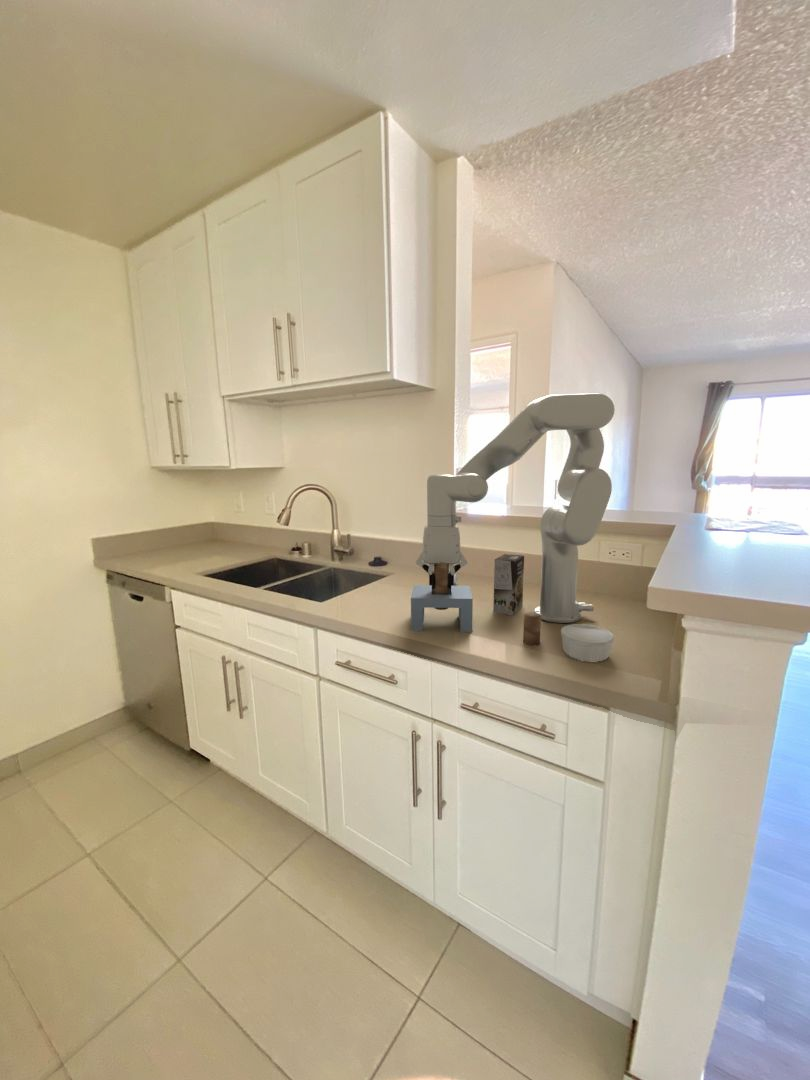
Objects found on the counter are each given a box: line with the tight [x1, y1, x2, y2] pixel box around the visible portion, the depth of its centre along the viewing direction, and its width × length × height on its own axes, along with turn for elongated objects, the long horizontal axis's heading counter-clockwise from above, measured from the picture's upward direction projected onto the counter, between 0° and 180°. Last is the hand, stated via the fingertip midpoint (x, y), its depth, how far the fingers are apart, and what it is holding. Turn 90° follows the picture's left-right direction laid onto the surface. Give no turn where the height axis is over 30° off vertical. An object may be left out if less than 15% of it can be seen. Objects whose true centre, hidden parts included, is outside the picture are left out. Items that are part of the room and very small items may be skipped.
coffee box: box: [492, 553, 525, 616], centre depth 129 cm, size 9×6×16 cm
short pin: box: [522, 611, 542, 647], centre depth 106 cm, size 4×4×7 cm
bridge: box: [410, 584, 474, 633], centre depth 119 cm, size 16×12×9 cm
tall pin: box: [433, 562, 450, 611], centre depth 118 cm, size 4×4×14 cm
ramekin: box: [560, 623, 615, 662], centre depth 99 cm, size 11×11×5 cm
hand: (441, 587), depth 118 cm, fingers closed on tall pin, 4 cm apart
